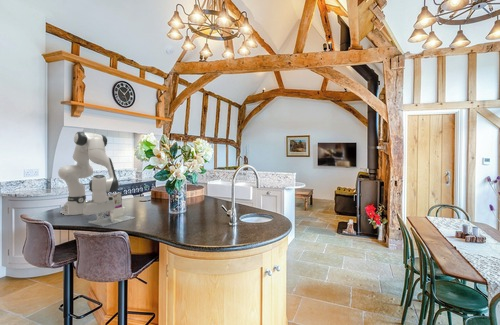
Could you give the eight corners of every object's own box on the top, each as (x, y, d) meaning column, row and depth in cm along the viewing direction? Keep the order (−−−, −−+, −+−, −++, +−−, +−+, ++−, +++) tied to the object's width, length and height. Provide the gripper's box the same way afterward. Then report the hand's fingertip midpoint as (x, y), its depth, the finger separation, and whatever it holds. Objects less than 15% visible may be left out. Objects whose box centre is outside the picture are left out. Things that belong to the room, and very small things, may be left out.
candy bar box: (119, 211, 213) (118, 192, 213) (122, 212, 211) (122, 192, 210) (105, 214, 204) (104, 194, 203) (108, 215, 201) (108, 194, 201)
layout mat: (87, 222, 181) (87, 221, 181) (120, 215, 203) (120, 214, 203) (103, 226, 172) (103, 225, 172) (135, 218, 194) (135, 217, 194)
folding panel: (110, 222, 179) (110, 213, 179) (110, 218, 189) (109, 210, 189) (113, 221, 180) (113, 213, 180) (112, 218, 190) (112, 210, 190)
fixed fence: (109, 218, 191) (109, 209, 190) (123, 215, 201) (123, 206, 200) (110, 218, 190) (110, 209, 189) (125, 215, 200) (125, 206, 199)
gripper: (86, 201, 164) (86, 223, 165) (116, 197, 182) (116, 216, 183) (80, 200, 167) (81, 221, 168) (110, 196, 185) (111, 215, 186)
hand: (99, 218), depth 176 cm, fingers closed
